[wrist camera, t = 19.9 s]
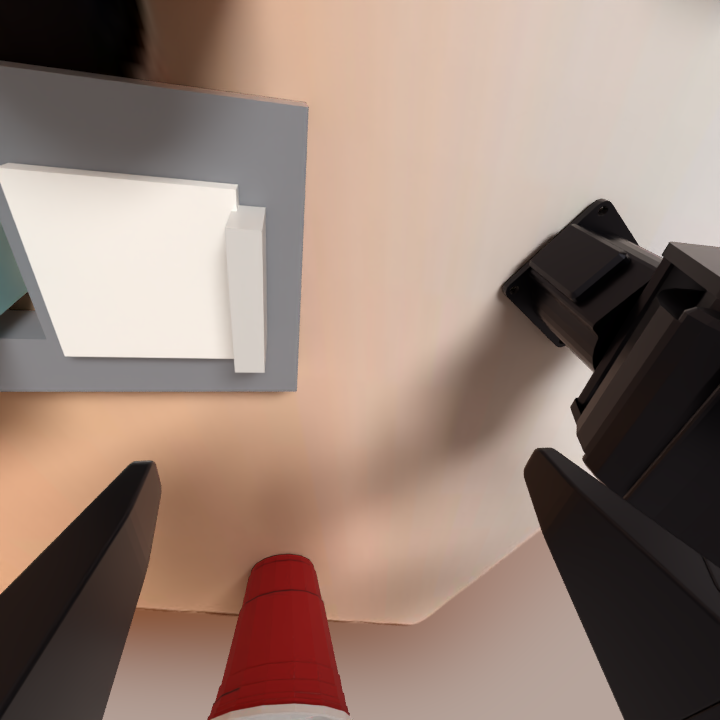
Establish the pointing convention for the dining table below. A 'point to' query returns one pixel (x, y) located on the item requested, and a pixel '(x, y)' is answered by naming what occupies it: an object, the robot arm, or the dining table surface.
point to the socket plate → (158, 159)
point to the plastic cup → (281, 650)
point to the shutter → (144, 263)
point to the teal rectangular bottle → (9, 275)
